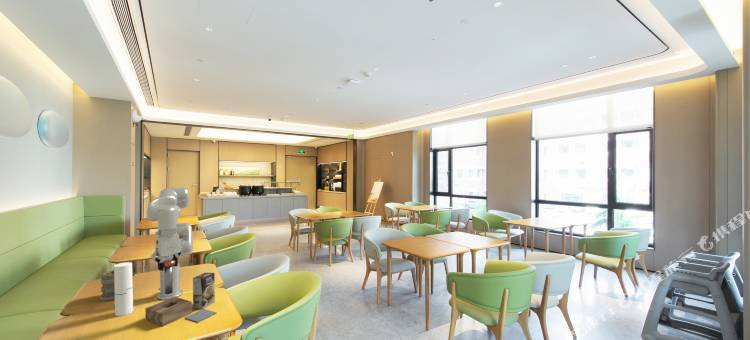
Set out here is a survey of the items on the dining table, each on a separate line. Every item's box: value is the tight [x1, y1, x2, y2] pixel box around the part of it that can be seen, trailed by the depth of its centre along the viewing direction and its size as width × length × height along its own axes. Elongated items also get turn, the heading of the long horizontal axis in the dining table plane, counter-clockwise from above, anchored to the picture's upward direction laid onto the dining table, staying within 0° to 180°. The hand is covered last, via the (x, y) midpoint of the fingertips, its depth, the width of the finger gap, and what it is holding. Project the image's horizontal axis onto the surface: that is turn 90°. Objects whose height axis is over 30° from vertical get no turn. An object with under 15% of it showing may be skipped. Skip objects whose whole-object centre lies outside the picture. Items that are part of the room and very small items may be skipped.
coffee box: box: [192, 272, 216, 310], centre depth 165 cm, size 9×6×16 cm
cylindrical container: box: [113, 261, 134, 317], centre depth 157 cm, size 7×7×25 cm
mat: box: [184, 308, 218, 323], centre depth 153 cm, size 10×10×1 cm
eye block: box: [144, 297, 193, 327], centre depth 153 cm, size 14×14×6 cm
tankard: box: [99, 269, 136, 302], centre depth 178 cm, size 20×13×15 cm, turn 76°
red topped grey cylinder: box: [162, 259, 175, 294], centre depth 153 cm, size 6×6×16 cm
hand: (168, 267), depth 153 cm, fingers closed on red topped grey cylinder, 6 cm apart
